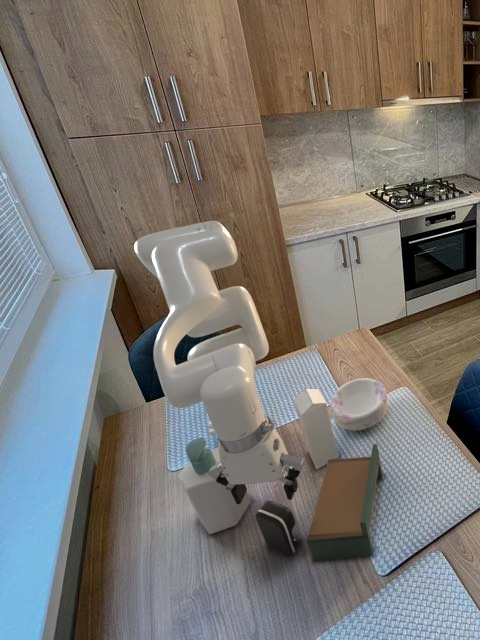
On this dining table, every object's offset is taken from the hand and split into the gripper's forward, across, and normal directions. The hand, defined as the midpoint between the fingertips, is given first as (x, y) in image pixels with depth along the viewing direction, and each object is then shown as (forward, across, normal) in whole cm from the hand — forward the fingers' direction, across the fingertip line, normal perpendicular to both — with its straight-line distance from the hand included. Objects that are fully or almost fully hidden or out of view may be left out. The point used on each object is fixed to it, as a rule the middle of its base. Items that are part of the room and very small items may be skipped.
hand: (267, 494), depth 79 cm
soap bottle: (+16, +16, -8) cm, 25 cm away
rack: (+16, -13, -6) cm, 21 cm away
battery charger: (+16, 0, 0) cm, 16 cm away
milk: (+16, -3, -22) cm, 27 cm away
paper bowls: (+16, -11, -34) cm, 39 cm away
